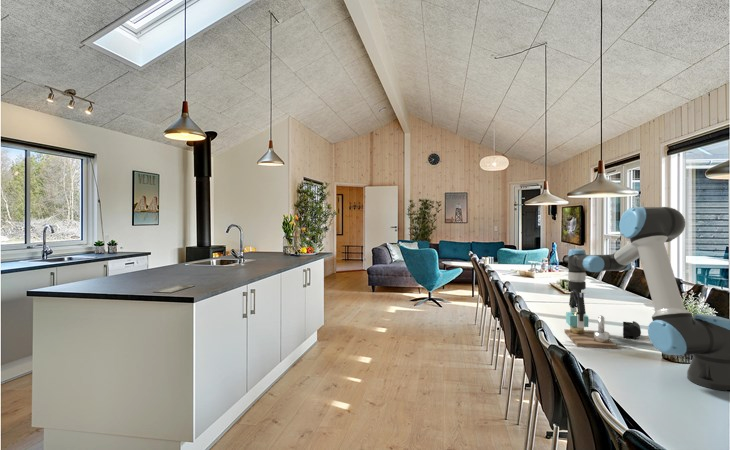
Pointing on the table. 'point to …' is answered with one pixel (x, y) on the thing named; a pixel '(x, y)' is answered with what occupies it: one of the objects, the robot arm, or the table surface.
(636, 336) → the end cap
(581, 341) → the board
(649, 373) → the table surface
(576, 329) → the hub
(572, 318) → the collar
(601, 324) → the stand rod
